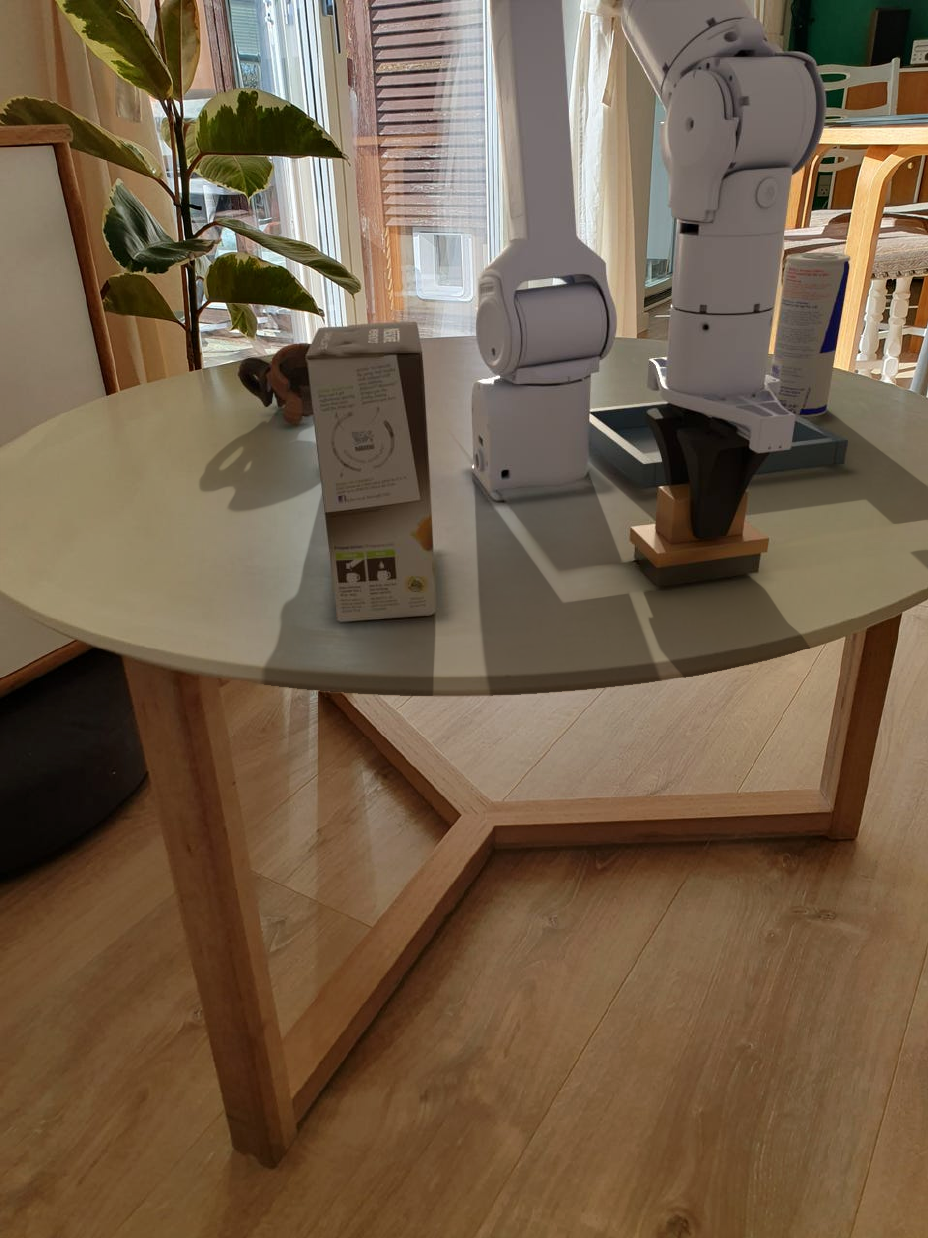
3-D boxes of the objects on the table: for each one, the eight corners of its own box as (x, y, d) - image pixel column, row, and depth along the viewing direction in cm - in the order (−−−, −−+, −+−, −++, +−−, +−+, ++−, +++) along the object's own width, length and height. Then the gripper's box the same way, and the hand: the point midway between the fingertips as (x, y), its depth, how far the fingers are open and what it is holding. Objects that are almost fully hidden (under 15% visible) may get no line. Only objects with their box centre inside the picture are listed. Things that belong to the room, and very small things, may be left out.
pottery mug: (353, 402, 100) (359, 345, 93) (335, 462, 95) (339, 406, 88) (248, 377, 99) (246, 318, 92) (224, 437, 94) (220, 378, 87)
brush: (655, 589, 55) (661, 508, 53) (628, 560, 59) (632, 483, 56) (764, 573, 57) (776, 493, 54) (731, 546, 61) (740, 470, 58)
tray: (641, 497, 70) (643, 463, 69) (574, 439, 84) (574, 410, 82) (843, 472, 73) (849, 439, 72) (746, 419, 87) (750, 391, 86)
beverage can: (829, 425, 84) (857, 258, 77) (768, 423, 86) (790, 259, 78) (820, 408, 89) (846, 250, 82) (763, 407, 90) (783, 251, 83)
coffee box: (440, 617, 54) (424, 350, 46) (335, 624, 54) (302, 357, 46) (432, 554, 62) (418, 318, 54) (341, 560, 62) (314, 324, 54)
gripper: (863, 323, 44) (819, 564, 51) (725, 282, 57) (704, 481, 63) (735, 334, 43) (708, 581, 50) (622, 290, 55) (612, 492, 62)
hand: (699, 526), depth 57 cm, fingers closed on brush, 2 cm apart
